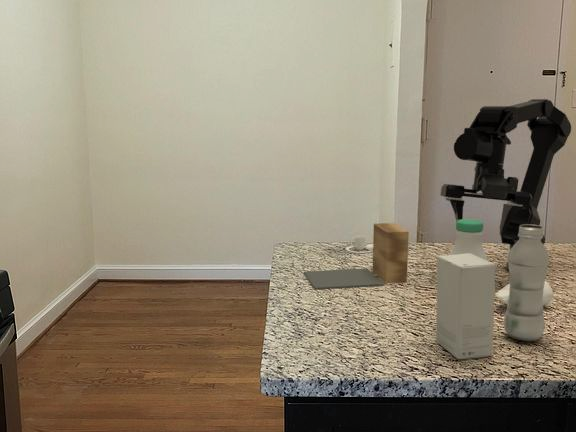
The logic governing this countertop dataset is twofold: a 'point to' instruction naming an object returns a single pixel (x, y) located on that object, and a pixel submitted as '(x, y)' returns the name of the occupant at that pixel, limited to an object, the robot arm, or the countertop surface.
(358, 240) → the teacup and saucer
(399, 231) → the tan and teal block
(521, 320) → the plastic bottle
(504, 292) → the roll
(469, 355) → the skincare box
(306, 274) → the mat
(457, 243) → the milk bottle
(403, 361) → the countertop surface
